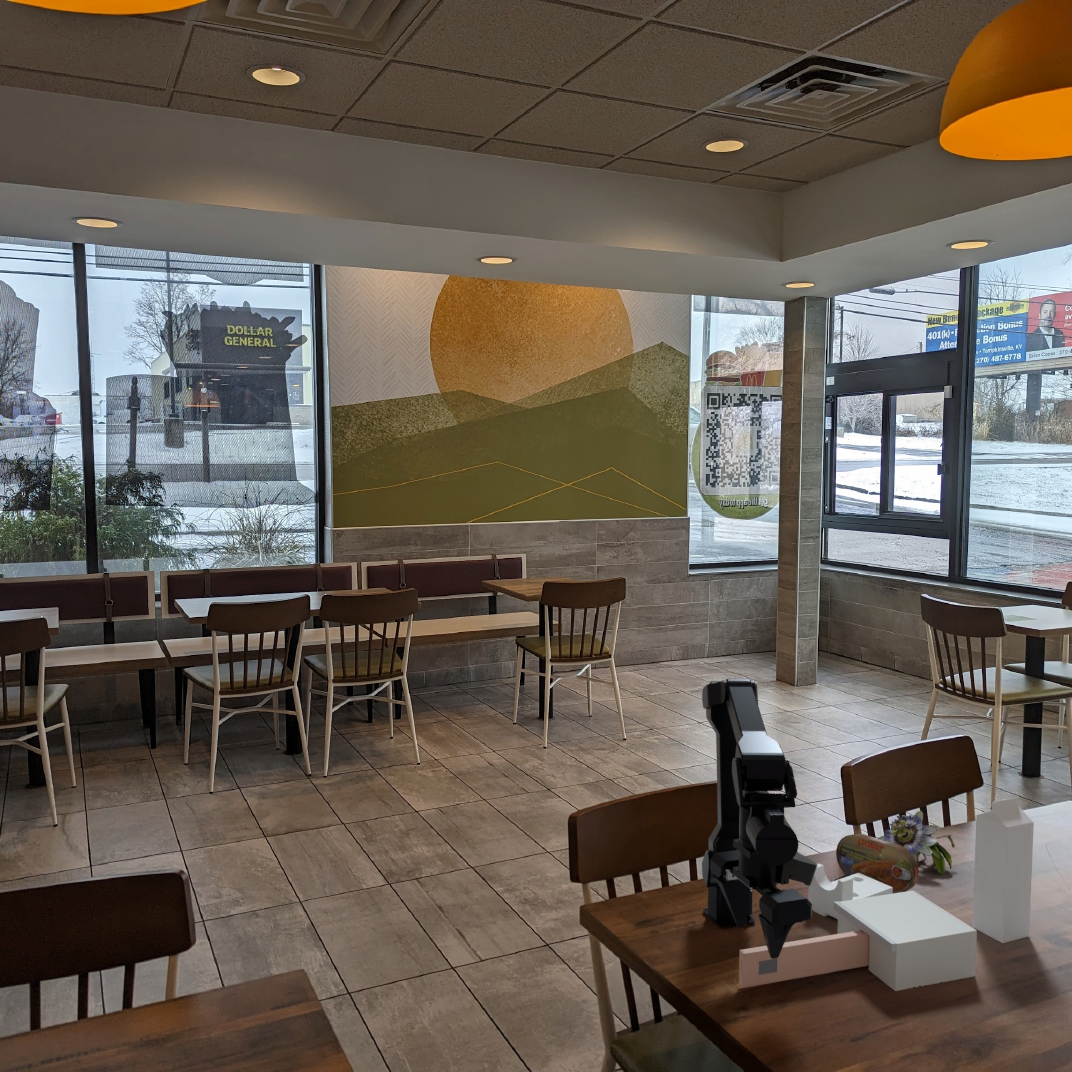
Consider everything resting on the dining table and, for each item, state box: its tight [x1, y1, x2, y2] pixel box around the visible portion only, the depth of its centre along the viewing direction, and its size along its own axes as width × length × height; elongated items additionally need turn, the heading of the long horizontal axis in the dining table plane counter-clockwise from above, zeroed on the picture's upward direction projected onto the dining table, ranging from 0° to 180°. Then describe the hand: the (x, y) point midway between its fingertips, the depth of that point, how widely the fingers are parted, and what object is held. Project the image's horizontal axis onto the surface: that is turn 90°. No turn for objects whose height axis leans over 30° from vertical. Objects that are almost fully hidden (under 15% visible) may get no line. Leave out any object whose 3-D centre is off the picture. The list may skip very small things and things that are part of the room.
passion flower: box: [876, 810, 956, 875], centre depth 182 cm, size 11×11×12 cm
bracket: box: [807, 863, 893, 920], centre depth 164 cm, size 13×7×8 cm, turn 123°
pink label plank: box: [738, 930, 870, 989], centre depth 141 cm, size 22×1×5 cm, turn 107°
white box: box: [834, 890, 978, 992], centre depth 146 cm, size 15×14×7 cm
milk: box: [971, 796, 1034, 944], centre depth 154 cm, size 6×6×22 cm
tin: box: [835, 833, 919, 893], centre depth 172 cm, size 15×3×8 cm, turn 41°
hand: (757, 942), depth 138 cm, fingers open, 9 cm apart
